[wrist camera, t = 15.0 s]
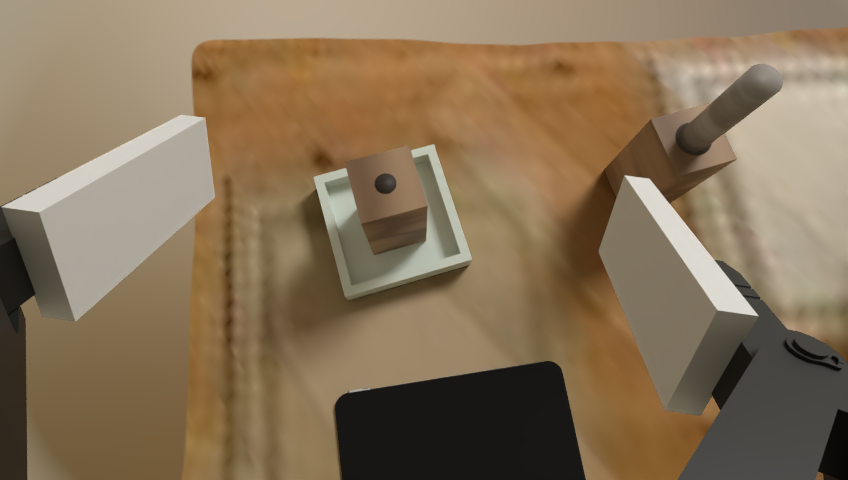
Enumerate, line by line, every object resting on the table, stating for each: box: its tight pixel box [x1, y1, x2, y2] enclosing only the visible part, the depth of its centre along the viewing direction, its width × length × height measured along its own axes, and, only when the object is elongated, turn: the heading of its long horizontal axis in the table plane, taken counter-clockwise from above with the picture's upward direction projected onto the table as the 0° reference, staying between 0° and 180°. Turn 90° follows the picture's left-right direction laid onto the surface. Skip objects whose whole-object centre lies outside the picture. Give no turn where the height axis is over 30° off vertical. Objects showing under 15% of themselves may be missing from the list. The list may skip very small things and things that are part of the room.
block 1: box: [345, 145, 428, 255], centre depth 40 cm, size 5×5×10 cm
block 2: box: [604, 64, 783, 203], centre depth 38 cm, size 5×5×18 cm
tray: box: [314, 144, 472, 300], centre depth 45 cm, size 12×12×2 cm
